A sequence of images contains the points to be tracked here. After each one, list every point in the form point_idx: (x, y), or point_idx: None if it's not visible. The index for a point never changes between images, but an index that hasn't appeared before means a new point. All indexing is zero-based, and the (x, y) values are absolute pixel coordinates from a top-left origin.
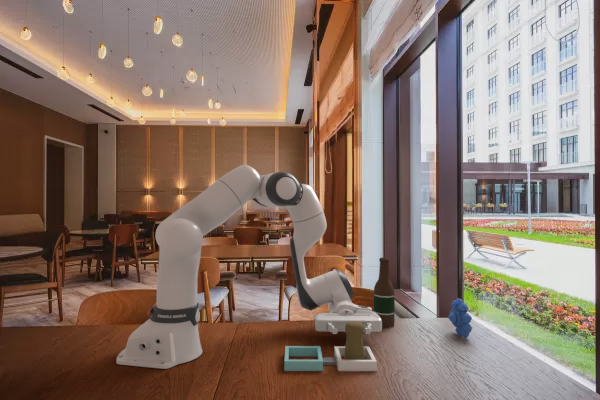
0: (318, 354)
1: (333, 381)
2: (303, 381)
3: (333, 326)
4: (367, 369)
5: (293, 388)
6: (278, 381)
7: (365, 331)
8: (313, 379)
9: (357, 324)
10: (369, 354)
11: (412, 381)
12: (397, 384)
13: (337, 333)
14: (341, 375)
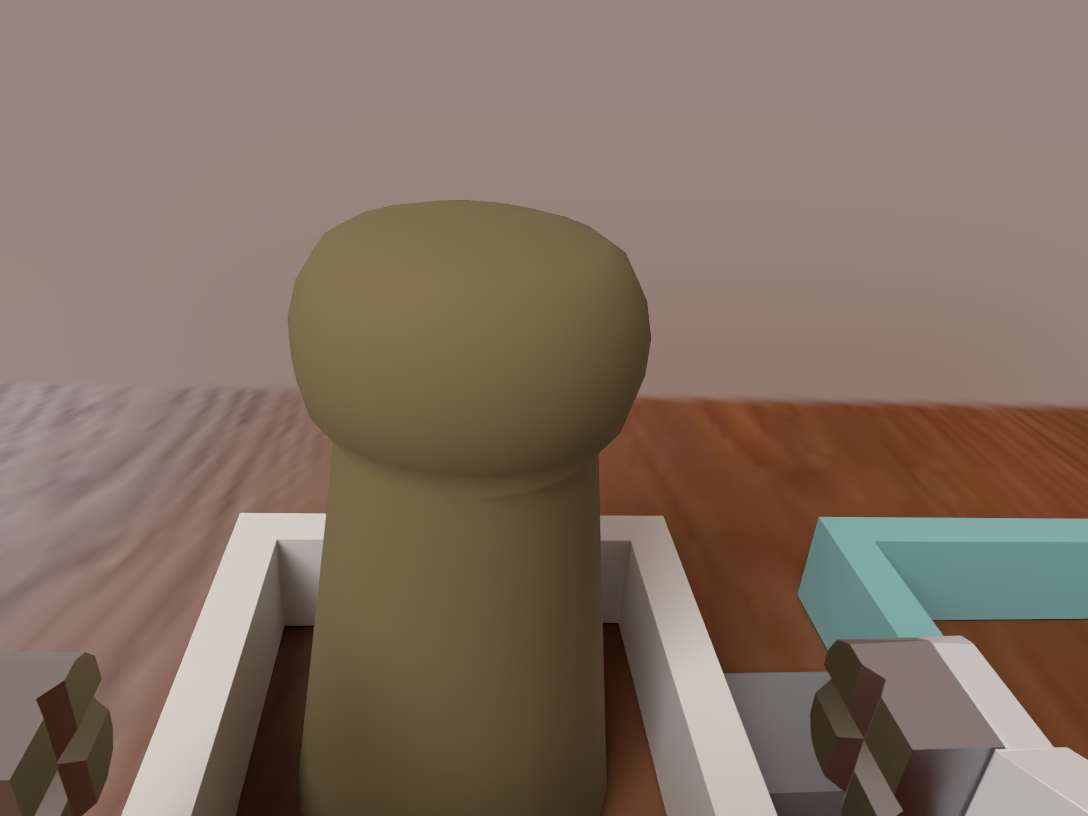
0: (939, 635)
1: (670, 483)
2: (886, 485)
3: (1003, 727)
4: None
5: (907, 435)
6: (1055, 486)
7: (81, 740)
8: (827, 501)
9: (439, 201)
10: (240, 657)
11: (20, 477)
12: (183, 453)
13: (814, 717)
14: None
